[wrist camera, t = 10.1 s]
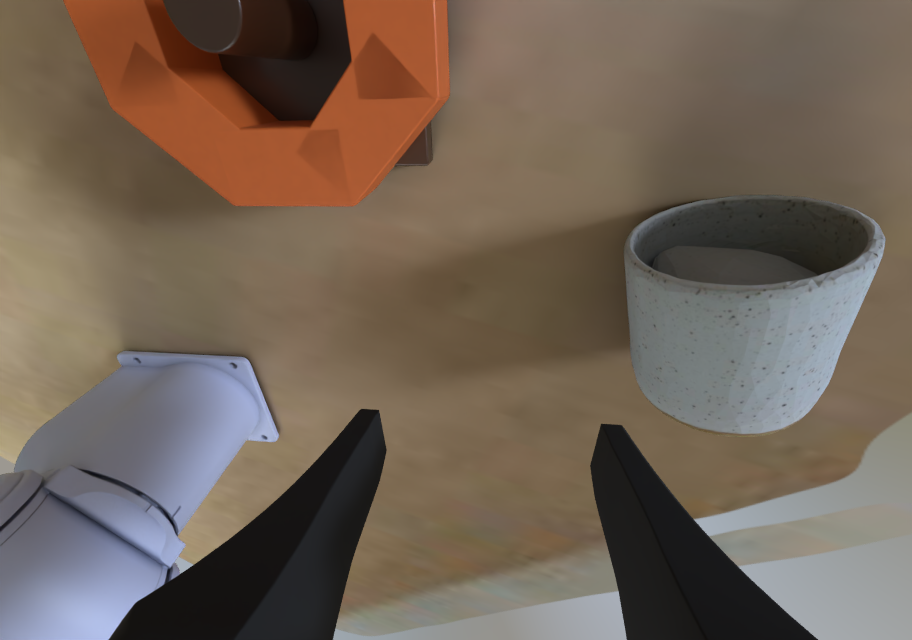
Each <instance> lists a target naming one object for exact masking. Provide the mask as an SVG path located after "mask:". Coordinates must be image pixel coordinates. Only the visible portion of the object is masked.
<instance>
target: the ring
mask: <svg viewBox="0 0 912 640" xmlns="http://www.w3.org/2000/svg"><path fill="white" fill-rule="evenodd" d="M63 1H64V4H65V6H66V8H67V10H68V12H69V15H70V17H71V19H72V21H73V24H74V26H75V28H76V30H77V33H78V35H79V37H80V39H81V41H82V44H83V46H84V48H85V50H86V53H87V55H88V57H89V59H90V62H91V64H92V66H93V68H94V70H95V73H96V75H97V77H98V79H99V82H100V84H101V86H102V88H103V91H104V93H105V95H106V97H107V99H108V102H109V104H110V106H111V108H112V109H113V110H114V111H116V112H117V113H118V114H119V115H121V116H122V117H123V118H124V119H126V120H127V121H128V122H129V123H131V124H132V125H133V126H134V127H136V128H137V129H138V130H139V131H141V132H142V133H143V134H144V135H146V136H147V137H148V138H150V139H151V140H152V141H153V142H155V143H156V144H157V145H158V146H160V147H161V148H162V149H163V150H165V151H166V152H167V153H168V154H170V155H171V156H172V157H173V158H175V159H176V160H177V161H179V162H180V163H181V164H182V165H184V166H185V167H186V168H187V169H189V170H190V171H191V172H192V173H194V174H195V175H196V176H197V177H199V178H200V179H201V180H202V181H204V182H205V183H206V184H207V185H209V186H210V187H211V188H213V189H214V190H215V191H216V192H218V193H219V194H220V195H221V196H223V197H224V198H225V199H226V200H228V201H229V202H230V203H231V204H233V205H234V206H354V205H356V204H358V203H359V202H360V201H361V200H362V199H364V198H365V197H366V196H367V195H368V194H370V193H371V192H372V191H373V190H374V189H375V188H377V186H378V185H379V184H380V183H381V181H382V180H383V179H384V178H385V177H386V175H387V174H388V173H389V172H390V170H391V169H392V168H393V167H394V165H395V164H396V163H397V162H398V160H399V159H400V158H401V157H402V155H403V154H404V153H405V152H406V150H407V149H408V148H409V147H410V145H411V144H412V143H413V142H414V141H415V139H416V138H417V137H418V136H419V134H420V133H421V132H422V131H423V129H424V128H425V127H426V126H427V124H428V123H429V122H430V121H431V119H432V118H433V117H434V116H435V114H436V113H437V112H438V111H439V110H440V108H441V107H442V106H443V105H444V103H445V102H446V101H447V100H448V98H449V96H450V84H449V50H448V17H447V0H343V4H344V11H345V18H346V25H347V32H348V39H349V46H350V53H351V60H352V61H351V62H350V64H349V66H348V67H347V69H346V70H345V72H344V73H343V75H342V77H341V78H340V80H339V81H338V83H337V84H336V86H335V88H334V89H333V91H332V92H331V94H330V95H329V97H328V99H327V100H326V102H325V103H324V105H323V107H322V108H321V110H320V111H319V113H318V114H317V116H316V118H315V119H314V120H299V121H279V120H278V119H277V118H276V117H274V116H273V115H272V114H271V113H270V112H269V111H268V110H267V109H266V108H264V107H263V106H262V105H261V104H260V103H259V102H258V101H257V100H256V99H255V98H253V97H252V96H251V95H250V94H249V93H248V92H247V91H246V90H245V89H244V88H242V87H241V86H240V85H239V84H238V83H237V82H236V81H235V80H234V79H232V78H231V77H230V76H229V75H228V74H227V73H226V72H225V71H224V70H223V69H222V66H221V62H220V59H219V55H218V54H217V53H210V52H206V51H203V50H201V49H199V48H197V47H196V46H194V45H193V44H191V43H190V42H189V41H188V40H187V39H186V38H185V37H184V36H183V35H182V34H181V33H180V32H179V31H178V30H177V28H176V27H175V25H174V24H173V22H172V21H171V19H170V17H169V15H168V13H167V11H166V8H165V5H164V2H163V0H63Z"/></svg>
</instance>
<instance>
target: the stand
mask: <svg viewBox="0 0 912 640" xmlns="http://www.w3.org/2000/svg"><path fill="white" fill-rule="evenodd" d="M163 2H164V5H165V8H166V11H167V13H168V15H169V17H170V19H171V21H172V22H173V24H174V25H175V27H176V28H177V30H178V31H179V32H180V33H181V34H182V35H183V36H184V37H185V38H186V39H187V40H188V41H189V42H190V43H191V44H193V45H194V46H196V47H197V48H199V49H201V50H203V51H206V52H210V53H217V54H218V55H219V59H220V62H221V66H222V69H223V70H224V71H225V72H226V73H227V74H228V75H229V76H230V77H231V78H232V79H234V80H235V81H236V82H237V83H238V84H239V85H240V86H241V87H242V88H244V89H245V90H246V91H247V92H248V93H249V94H250V95H251V96H252V97H253V98H255V99H256V100H257V101H258V102H259V103H260V104H261V105H262V106H263V107H264V108H266V109H267V110H268V111H269V112H270V113H271V114H272V115H273V116H274V117H276V118H277V119H278V120H279V121H299V120H314V119H315V118H316V116H317V114H318V113H319V111H320V110H321V108H322V107H323V105H324V103H325V102H326V100H327V99H328V97H329V95H330V94H331V92H332V91H333V89H334V88H335V86H336V84H337V83H338V81H339V80H340V78H341V77H342V75H343V73H344V72H345V70H346V69H347V67H348V66H349V64H350V62H351V61H352V60H351V53H350V46H349V39H348V32H347V25H346V18H345V11H344V4H343V0H163ZM432 160H433V156H432V137H431V121H430V122H429V123H428V124H427V126H426V127H425V128H424V129H423V131H422V132H421V133H420V134H419V136H418V137H417V138H416V139H415V141H414V142H413V143H412V144H411V145H410V147H409V148H408V149H407V150H406V152H405V153H404V154H403V155H402V157H401V158H400V159H399V160H398V162H397V163H396V164H395V165H394V166H427V165H429V164H430V163H431V161H432Z"/></svg>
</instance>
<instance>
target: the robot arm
mask: <svg viewBox="0 0 912 640" xmlns="http://www.w3.org/2000/svg"><path fill="white" fill-rule="evenodd" d="M117 359H118V361H119V362H120V364H121V365H122V366H121V367H120V368H119V369H117V370H116V371H115V372H113V373H112V374H111V375H109V376H108V377H107V378H105V379H104V380H103V381H101V382H100V383H99V384H97V385H96V386H95V387H93V388H92V389H91V390H89V391H88V392H87V393H85V394H84V395H83V396H81V397H80V398H79V399H77V400H76V401H75V402H73V403H72V404H71V405H69V406H68V407H67V408H65V409H64V410H63V411H61V412H60V413H59V414H57V415H56V416H55V417H53V418H52V419H51V420H49V421H48V422H47V423H45V424H44V425H43V426H42V427H41V428H39V429H38V430H37V431H36V432H35V433H34V434H33V435H32V436H31V438H30V439H29V440H28V441H27V443H26V444H25V446H24V447H23V449H22V451H21V453H20V455H19V457H18V459H17V461H16V464H15V468H14V473H7V474H2V475H0V640H333V636H334V631H335V627H336V623H337V619H338V615H339V611H340V606H341V602H342V598H343V594H344V590H345V586H346V582H347V578H348V574H349V571H350V567H351V563H352V560H353V556H354V553H355V550H356V547H357V544H358V541H359V538H360V536H361V533H362V530H363V527H364V524H365V521H366V519H367V516H368V513H369V510H370V507H371V504H372V502H373V499H374V496H375V493H376V490H377V487H378V484H379V481H380V477H381V473H382V469H383V464H384V460H385V455H386V445H385V440H384V435H383V429H382V424H381V418H380V413H379V410H370V409H361V410H360V411H359V412H358V413H357V414H356V415H355V416H354V418H353V419H352V420H351V421H350V422H349V424H348V425H347V426H346V427H345V428H344V430H343V431H342V432H341V433H340V434H339V436H338V437H337V438H336V439H335V440H334V441H333V443H332V444H331V445H330V446H329V447H328V448H327V449H326V450H325V451H324V453H323V454H322V455H321V456H320V457H319V458H318V459H317V460H316V461H315V462H314V464H313V465H312V466H311V467H310V468H309V469H308V470H307V471H306V472H305V473H304V474H303V475H302V476H301V477H300V478H299V479H298V480H297V481H296V482H295V483H294V484H293V485H292V486H291V487H290V488H289V489H288V490H287V491H286V492H285V493H284V494H282V495H281V496H280V497H279V498H278V499H277V500H276V501H275V502H274V503H273V504H271V505H270V506H269V507H268V508H267V509H266V510H265V511H263V512H262V513H261V514H260V515H259V516H257V517H256V518H255V519H254V520H253V521H251V522H250V523H249V524H248V525H247V526H245V527H244V528H243V529H242V530H240V531H239V532H238V533H237V534H235V535H234V536H233V537H231V538H230V539H229V540H228V541H226V542H225V543H223V544H222V545H221V546H219V547H218V548H217V549H215V550H214V551H212V552H211V553H210V554H208V555H207V556H206V557H204V558H203V559H201V560H200V561H199V562H197V563H196V564H194V565H193V566H192V567H190V568H189V569H187V570H186V571H184V572H183V573H181V574H180V572H179V568H178V567H177V565H176V563H174V562H175V560H176V559H177V558H178V556H179V555H180V553H181V552H182V550H183V549H184V547H185V546H186V545H185V543H184V542H182V541H181V540H180V539H179V538H178V537H177V536H178V535H179V534H180V532H181V531H182V529H183V528H184V527H185V525H186V524H187V522H188V521H189V520H190V518H191V517H192V515H193V514H194V513H195V511H196V510H197V508H198V507H199V506H200V504H201V503H202V501H203V500H204V499H205V497H206V496H207V494H208V493H209V492H210V490H211V489H212V487H213V486H214V485H215V483H216V482H217V480H218V479H219V478H220V476H221V475H222V473H223V472H224V471H225V469H226V468H227V466H228V465H229V464H230V462H231V461H232V459H233V458H234V457H235V455H236V454H237V453H238V451H239V450H240V448H241V447H242V446H243V444H244V443H245V441H246V440H252V441H265V442H275V441H277V439H278V437H279V434H278V432H277V429H276V427H275V424H274V421H273V419H272V416H271V414H270V411H269V409H268V406H267V404H266V401H265V399H264V396H263V394H262V391H261V389H260V386H259V384H258V381H257V379H256V376H255V374H254V371H253V369H252V366H251V364H250V362H249V360H247V359H246V358H244V357H234V356H215V355H195V354H175V353H156V352H136V351H122V352H120V353H119V354H118V355H117ZM590 467H591V474H592V482H593V488H594V495H595V500H596V504H597V508H598V512H599V516H600V520H601V524H602V527H603V531H604V535H605V539H606V543H607V546H608V550H609V554H610V558H611V561H612V565H613V569H614V573H615V577H616V581H617V586H618V590H619V596H620V602H621V607H622V613H623V619H624V625H625V630H626V637H627V640H818V639H816V638H815V637H814V636H813V635H812V634H810V633H809V632H808V631H807V630H806V629H805V628H804V627H803V626H801V625H800V624H799V623H798V622H797V621H796V620H794V619H793V618H792V617H791V616H790V615H789V614H788V613H786V612H785V611H784V610H783V609H782V608H781V607H780V606H779V605H778V604H777V603H776V602H775V601H774V600H772V599H771V598H770V597H769V596H768V595H767V594H766V593H765V592H764V591H763V590H762V589H761V588H759V587H758V586H757V585H756V584H755V583H754V582H753V581H752V580H751V579H750V578H749V577H748V576H747V575H746V574H745V573H744V572H743V571H742V570H741V569H739V567H738V566H737V565H736V564H735V563H734V562H733V561H732V560H731V559H730V558H729V557H728V556H727V555H726V554H725V553H724V552H723V551H722V550H721V549H720V548H719V547H718V546H717V545H716V544H715V543H714V542H713V541H712V539H711V538H710V537H709V536H708V535H707V534H706V533H705V532H704V531H703V530H702V529H701V527H700V526H699V525H698V524H697V523H696V522H695V521H694V519H693V518H692V517H691V516H690V515H689V514H688V512H687V511H686V510H685V509H684V508H683V506H682V505H681V504H680V503H679V502H678V500H677V499H676V498H675V497H674V495H673V494H672V493H671V492H670V490H669V489H668V488H667V487H666V485H665V484H664V483H663V481H662V480H661V479H660V478H659V476H658V475H657V474H656V472H655V471H654V470H653V468H652V467H651V466H650V464H649V463H648V462H647V460H646V459H645V457H644V456H643V455H642V453H641V452H640V450H639V449H638V448H637V446H636V445H635V443H634V442H633V440H632V439H631V438H630V436H629V435H628V433H627V432H626V430H625V429H624V428H623V426H622V425H611V424H601V426H600V430H599V434H598V438H597V442H596V446H595V450H594V453H593V457H592V461H591V465H590Z"/></svg>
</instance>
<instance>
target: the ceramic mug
mask: <svg viewBox="0 0 912 640" xmlns="http://www.w3.org/2000/svg"><path fill="white" fill-rule="evenodd" d="M885 240H886V239H885V237H884V235H883V233H882V231H881V228H880V227H879V225H878V224H877V223H876V222H875V221H874V220H873V219H871V218H870V217H868V216H866V215H864V214H862V213H861V212H859V211H857V210H856V209H853V208H849V207H846V206H842V205H839V204H835V203H832V202H828V201H822V200H816V199H812V198H806V197H795V196H779V195H741V196H731V197H724V198H717V199H711V200H702V201H697V202H693V203H689V204H685V205H681V206H678V207H673V208H671V209H668V210H666V211H662V212H660V213H657V214H655V215H653V216H652V217H650V218H648V219H647V220H645V221H643V222H641V223H640V224H638V225H637V226H636V227H635V228H634V229H633V230H632V231H631V232H630V234H629V235H628V237H627V240H626V242H625V245H624V265H625V275H626V290H627V307H628V318H629V328H630V351H631V360H632V365H633V368H634V371H635V376H636V379H637V382H638V384H639V387H640V389H641V390H642V392H643V393H644V395H645V396H646V398H647V399H648V400H649V401H650V402H651V403H652V405H654V406H655V407H656V408H657V409H658V410H660V411H661V412H662V413H663V414H665V415H666V416H668V417H670V418H671V419H673V420H675V421H676V422H679V423H681V424H684V425H686V426H688V427H690V428H692V429H696V430H699V431H703V432H706V433H710V434H713V435H722V436H731V437H753V436H761V435H768V434H771V433H774V432H777V431H780V430H783V429H786V428H788V427H790V426H791V425H793V424H795V423H796V422H798V421H799V420H801V419H802V418H803V417H804V416H805V415H806V414H807V413H808V412H809V411H810V410H811V408H812V407H813V406H814V404H815V403H816V402H817V400H818V399H819V397H820V396H821V394H822V393H823V391H824V390H825V388H826V387H827V385H828V383H829V381H830V379H831V377H832V375H833V372H834V369H835V366H836V363H837V360H838V357H839V354H840V351H841V349H842V347H843V344H844V342H845V340H846V338H847V335H848V333H849V331H850V329H851V326H852V324H853V322H854V320H855V318H856V315H857V313H858V311H859V309H860V306H861V304H862V302H863V300H864V297H865V295H866V293H867V291H868V288H869V286H870V284H871V282H872V280H873V278H874V275H875V273H876V271H877V268H878V266H879V263H880V261H881V258H882V255H883V251H884V246H885Z"/></svg>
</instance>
